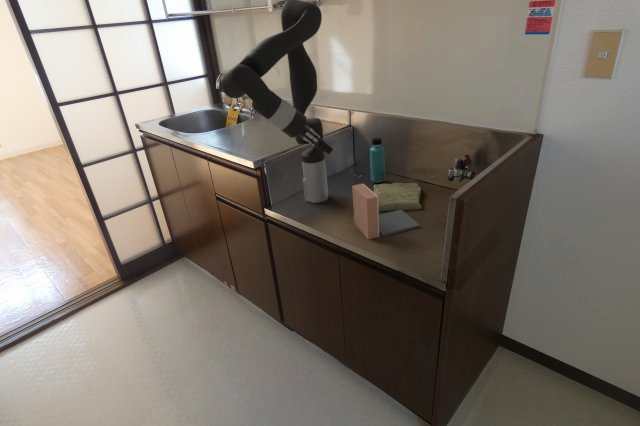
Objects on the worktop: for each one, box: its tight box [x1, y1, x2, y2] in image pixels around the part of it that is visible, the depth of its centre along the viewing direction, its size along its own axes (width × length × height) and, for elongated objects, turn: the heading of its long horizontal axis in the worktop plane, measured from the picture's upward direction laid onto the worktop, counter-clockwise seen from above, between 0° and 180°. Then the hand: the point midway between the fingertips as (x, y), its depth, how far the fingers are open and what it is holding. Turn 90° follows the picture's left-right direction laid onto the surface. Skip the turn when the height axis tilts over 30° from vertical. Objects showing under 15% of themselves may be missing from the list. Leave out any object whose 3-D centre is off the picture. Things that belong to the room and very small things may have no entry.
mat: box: [379, 210, 420, 237], centre depth 136 cm, size 14×13×1 cm
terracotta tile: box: [351, 183, 380, 240], centre depth 130 cm, size 4×12×15 cm, turn 18°
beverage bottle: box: [369, 137, 387, 183], centre depth 164 cm, size 6×7×20 cm
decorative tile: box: [373, 182, 422, 212], centre depth 153 cm, size 19×20×4 cm
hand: (330, 151), depth 118 cm, fingers closed
